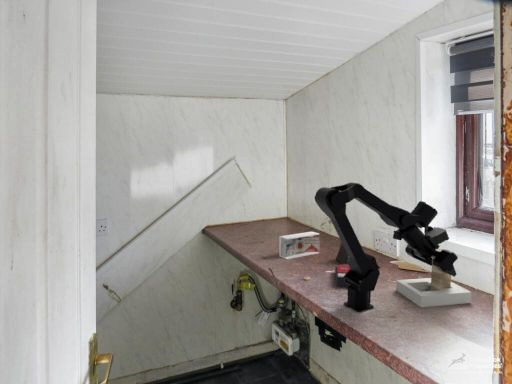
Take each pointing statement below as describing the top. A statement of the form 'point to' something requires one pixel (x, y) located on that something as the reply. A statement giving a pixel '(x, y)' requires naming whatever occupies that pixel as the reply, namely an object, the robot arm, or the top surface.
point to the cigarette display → (298, 245)
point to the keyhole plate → (432, 293)
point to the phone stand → (342, 255)
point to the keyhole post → (439, 278)
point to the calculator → (341, 275)
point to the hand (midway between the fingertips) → (445, 270)
